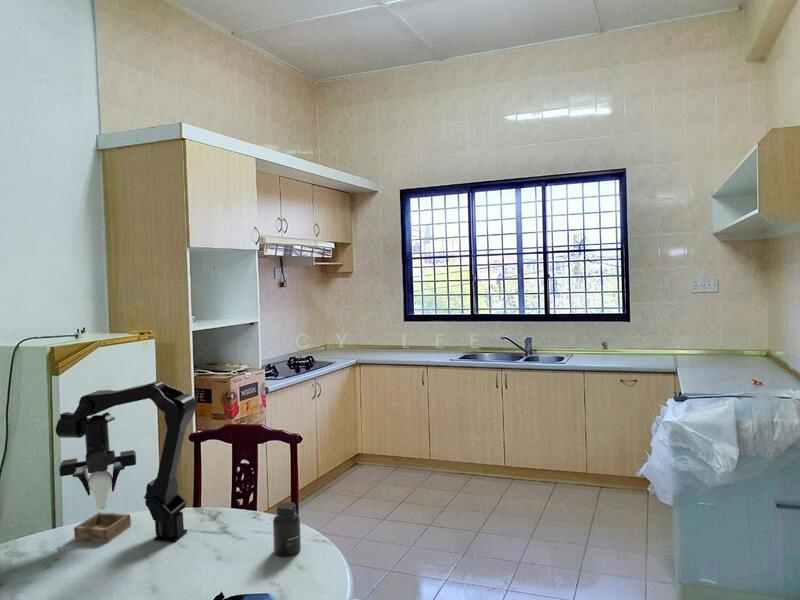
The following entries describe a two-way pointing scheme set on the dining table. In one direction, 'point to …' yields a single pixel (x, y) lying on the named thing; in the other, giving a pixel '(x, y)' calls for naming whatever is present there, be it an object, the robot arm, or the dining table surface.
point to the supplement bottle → (286, 530)
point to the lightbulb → (100, 487)
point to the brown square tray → (102, 527)
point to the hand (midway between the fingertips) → (101, 493)
